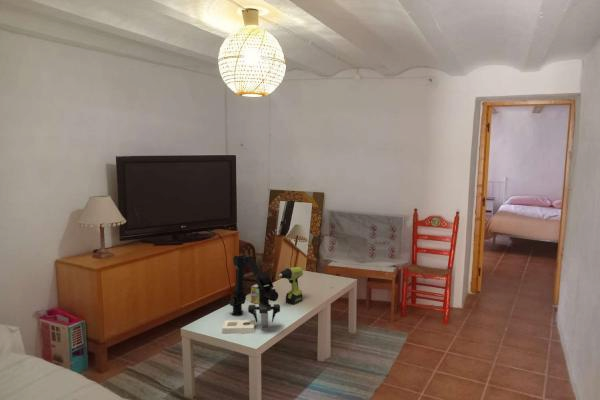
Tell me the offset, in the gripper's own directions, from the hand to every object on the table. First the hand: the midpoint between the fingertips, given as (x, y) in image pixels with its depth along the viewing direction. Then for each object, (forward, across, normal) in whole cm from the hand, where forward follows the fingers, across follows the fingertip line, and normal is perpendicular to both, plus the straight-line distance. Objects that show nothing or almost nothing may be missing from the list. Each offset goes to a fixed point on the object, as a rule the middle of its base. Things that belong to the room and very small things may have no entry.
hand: (264, 322), depth 261 cm
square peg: (+3, 0, 0) cm, 3 cm away
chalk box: (+3, -6, +43) cm, 44 cm away
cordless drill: (+3, +15, +38) cm, 41 cm away
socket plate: (+3, -15, -2) cm, 15 cm away
